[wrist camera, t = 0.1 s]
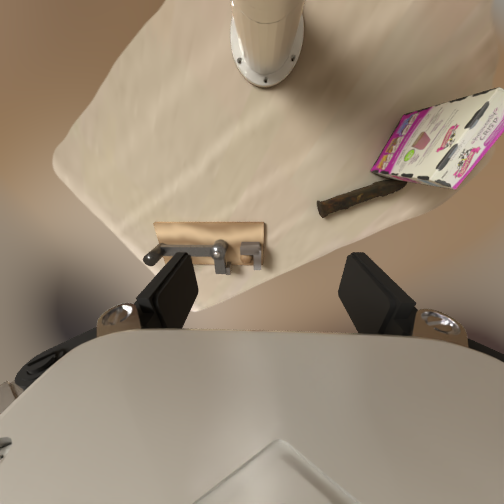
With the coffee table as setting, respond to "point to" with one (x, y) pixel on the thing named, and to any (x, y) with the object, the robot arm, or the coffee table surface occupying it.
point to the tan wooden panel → (206, 233)
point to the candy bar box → (443, 140)
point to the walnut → (246, 259)
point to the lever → (193, 254)
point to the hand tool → (359, 196)
